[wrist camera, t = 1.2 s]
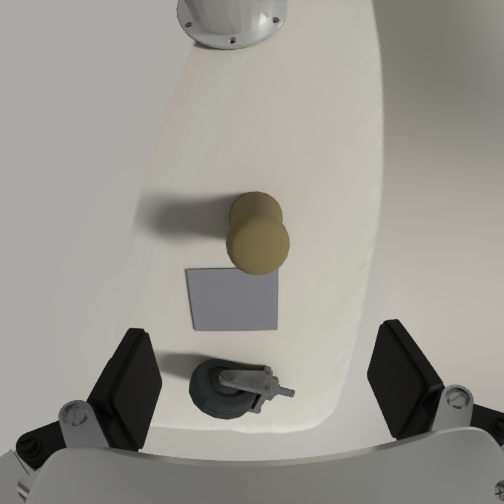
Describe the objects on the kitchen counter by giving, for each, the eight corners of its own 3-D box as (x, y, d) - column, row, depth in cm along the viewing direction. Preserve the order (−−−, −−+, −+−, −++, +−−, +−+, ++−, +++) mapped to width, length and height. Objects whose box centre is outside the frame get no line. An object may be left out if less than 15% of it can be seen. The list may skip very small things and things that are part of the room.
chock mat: (187, 268, 34) (186, 269, 34) (278, 266, 34) (278, 267, 34) (195, 329, 37) (195, 330, 37) (277, 328, 37) (277, 329, 37)
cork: (237, 248, 34) (231, 293, 23) (222, 199, 32) (208, 223, 21) (287, 236, 33) (304, 276, 23) (275, 185, 31) (288, 203, 21)
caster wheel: (195, 368, 41) (286, 395, 42) (178, 412, 32) (285, 441, 32) (203, 342, 39) (300, 371, 40) (185, 387, 30) (303, 420, 31)
